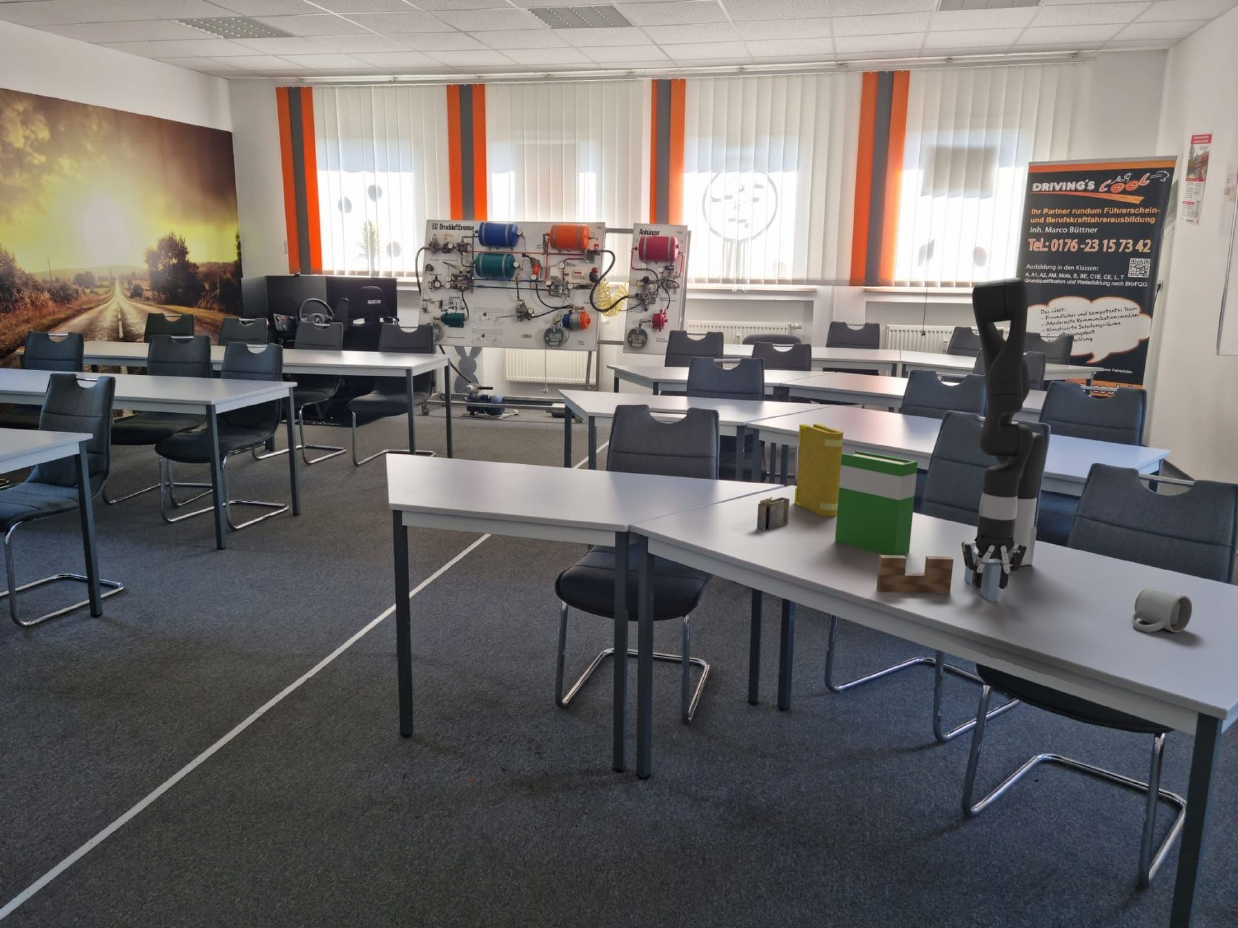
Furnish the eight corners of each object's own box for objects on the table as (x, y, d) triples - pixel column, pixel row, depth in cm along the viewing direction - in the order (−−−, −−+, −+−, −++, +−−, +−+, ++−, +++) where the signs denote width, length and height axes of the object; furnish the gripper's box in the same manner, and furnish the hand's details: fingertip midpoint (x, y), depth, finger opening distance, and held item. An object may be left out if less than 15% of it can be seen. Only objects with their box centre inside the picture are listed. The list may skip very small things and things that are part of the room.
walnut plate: (946, 590, 200) (950, 556, 199) (949, 593, 198) (953, 559, 197) (876, 588, 200) (879, 554, 199) (878, 591, 198) (881, 557, 197)
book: (794, 503, 277) (799, 424, 271) (813, 501, 279) (818, 423, 273) (822, 517, 261) (828, 433, 256) (842, 515, 263) (848, 433, 258)
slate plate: (964, 579, 208) (967, 546, 206) (972, 579, 208) (976, 547, 206) (988, 600, 194) (992, 565, 193) (997, 600, 194) (1001, 566, 193)
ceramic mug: (1151, 615, 187) (1156, 581, 186) (1190, 629, 180) (1195, 593, 179) (1119, 624, 183) (1124, 589, 181) (1158, 638, 176) (1164, 602, 174)
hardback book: (834, 541, 236) (841, 453, 231) (850, 536, 241) (857, 450, 236) (894, 557, 224) (902, 465, 219) (909, 551, 229) (917, 461, 224)
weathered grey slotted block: (765, 532, 245) (767, 498, 243) (756, 529, 247) (758, 496, 245) (789, 525, 253) (791, 492, 251) (780, 522, 255) (782, 490, 253)
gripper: (1022, 510, 197) (1013, 582, 200) (958, 508, 197) (950, 581, 200) (1038, 519, 189) (1028, 594, 193) (971, 517, 189) (963, 592, 193)
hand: (989, 587), depth 196 cm, fingers open, 4 cm apart
